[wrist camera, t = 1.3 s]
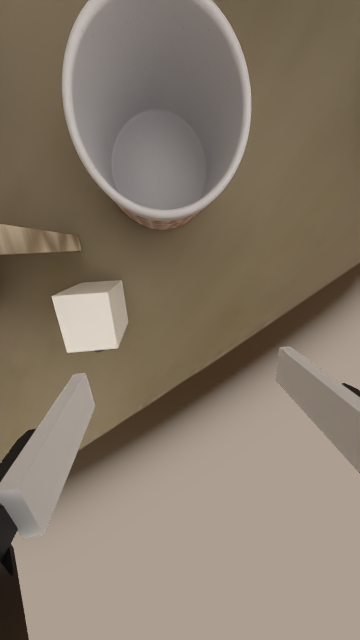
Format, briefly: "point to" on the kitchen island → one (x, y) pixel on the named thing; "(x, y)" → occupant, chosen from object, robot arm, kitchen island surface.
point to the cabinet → (92, 315)
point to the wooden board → (35, 241)
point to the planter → (157, 104)
